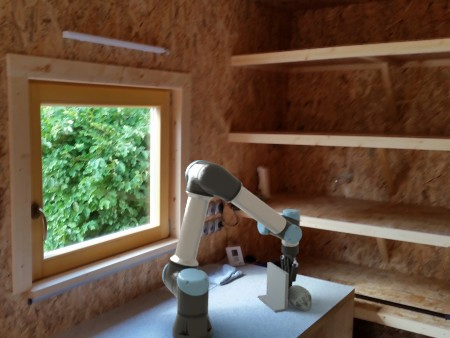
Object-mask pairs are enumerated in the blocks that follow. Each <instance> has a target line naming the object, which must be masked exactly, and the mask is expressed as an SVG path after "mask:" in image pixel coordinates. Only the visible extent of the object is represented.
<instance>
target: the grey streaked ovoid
mask: <svg viewBox="0 0 450 338" xmlns="http://www.w3.org/2000/svg"><path fill="white" fill-rule="evenodd" d="M288 302H289V304H290V305H292V306H293V307H295V308H296V309H298V310H301V311H309V310H310V309H311V306H312V302H313V300H312V295H311V293H310V291H309V290H308V289H307V288H305V287H303V286H302V285H298V284H294V285H293V284H292V286H291V287H290V288H289V290H288Z"/></svg>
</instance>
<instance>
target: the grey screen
mask: <svg viewBox="0 0 450 338" xmlns="http://www.w3.org/2000/svg"><path fill="white" fill-rule="evenodd" d="M266 268H267V269H266V271H267V272H266V294H262V295H257V299H258V298H259V299H258V300H260V302H262V303H263V304H264V305H266V306H267V307H268V308H269V309H271V311H272V312H274V313H279V311H280V312H285V311H288V306H289V303H288V302H289V300H288V282H289V274H288V273H287V272H285V271H284V270H282V268H281V267H279V266H277V265H276V264H274V263H273V262H271V261H269V262H267V267H266ZM284 310H285V311H284Z"/></svg>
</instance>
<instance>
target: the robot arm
mask: <svg viewBox="0 0 450 338" xmlns="http://www.w3.org/2000/svg"><path fill="white" fill-rule="evenodd" d="M185 181H186V182H187V183H186V187H185V193H186V195H187V201H186V205H185V210H184V214H183V218H182V222H181V227H180V231H179V235H178V240H177V243H176V249H175V252H174V254H173V255H172V256H170V257H169V262H168V263H167V264H166V265H164V268H163V269H162V275H161V277H162V282H163V283H164V286H165V287H166V288H167V290H168V291H169V292H171V293H172V295H174V297H175V298H176V303H177V304H176V316H175V318H174V319H175V320H174V322H173V326H172V327H171V328H172V332H171V333H172V336H173V338H211V337H212V336H213V325H212V320H211V318H210V315H209V298H210V297H209V296H210V295H209V293H210V292H209V291H210V290H209V289H210V283H209V275H208V274H207V272H205V271H203V270H202V269H199V261H198V260H197V255H198V251H199V248H200V242H201V238H202V234H203V230H204V225H205V222H206V217H207V212H208V208H209V204H210V201H211V200H213V199H214V198H215V197H217V198H219V199H221V200H222V201H224V202H225V203H231V204H232V205H234V206H235V207H237V208H238V209H240V210H241V211H242V212H244V213H245V214H246V215H247V216H249V217H250V218H252V219H254V220H255V221H256V222H257V230H258V232H259V234H261V235H267V236H268V235H272V236H274V237H276V238H278V239H280V240H281V253H282V255H279V258H280V263H281V264H280V265H281V269H282V270H284V271H285V272H287V273H288V274H289V282H288V290H289V288H290V287H291V286H293V283H295V282H296V281H297V276H298V271H299V267H300V265H301V264H300V262H297V254H299V252H300V251H299V249H300V245H299V244H300V243H299V242H301V241H300V240H301V239H302V236H303V231H302V229H301V228H300V226H301V215H300V214H301V213H300V211H299V210H298V209H292V208H286V209H283V211H282V214H281V213H279V212H277V211H276V210H274V208H272V207H271V206H269V205H268V204H267V203H265V202H264V201H263V200H261V199H260V198H259V197H258V196H257V195H255V194H253V193H252V192H251V191H250V190H248V189H247V188H246V187H244V186H243V183H242V181H241V180H240V179H238V177H236V176H235V175H234V174H232V173H231V172H230V171H229V170H228V169H226V167H224V166H222V165H220V164H218V163H215V162H212V161H208V160H206V159H205V160H204V159H203V160H202V159H200V160H194V161H193V162H191V163H190V164H189V165H188V166H187V168H186V171H185Z"/></svg>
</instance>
